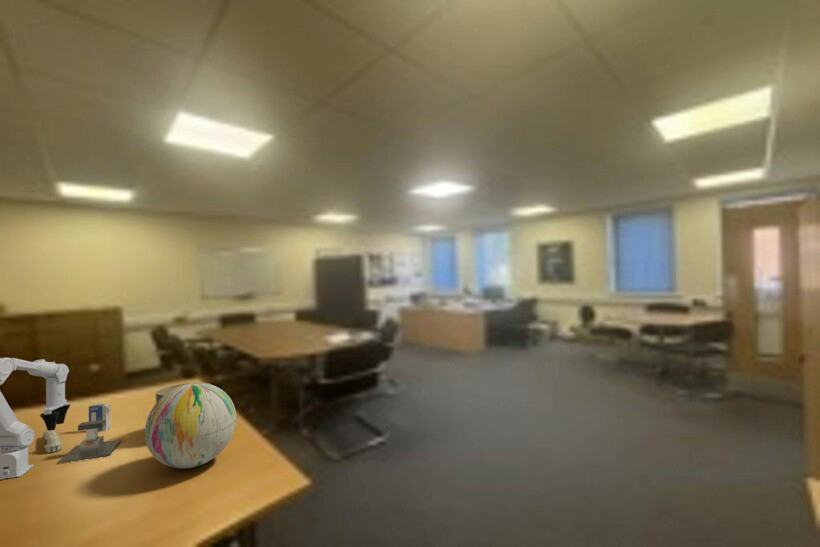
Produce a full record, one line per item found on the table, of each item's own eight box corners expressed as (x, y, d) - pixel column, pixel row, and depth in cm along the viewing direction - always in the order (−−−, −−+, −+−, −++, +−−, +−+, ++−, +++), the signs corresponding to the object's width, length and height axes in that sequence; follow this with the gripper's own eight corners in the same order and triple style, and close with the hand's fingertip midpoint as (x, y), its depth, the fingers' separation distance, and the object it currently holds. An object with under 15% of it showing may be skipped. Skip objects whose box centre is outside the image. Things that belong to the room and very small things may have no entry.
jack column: (102, 441, 161) (102, 422, 161) (77, 445, 158) (77, 425, 158) (105, 438, 164) (105, 419, 164) (81, 441, 161) (81, 422, 161)
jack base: (109, 456, 156) (109, 443, 157) (58, 464, 150) (58, 450, 151) (121, 441, 171) (121, 429, 171) (75, 447, 165) (75, 435, 165)
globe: (253, 457, 153) (252, 379, 154) (174, 493, 127) (173, 399, 128) (207, 442, 168) (206, 371, 169) (128, 472, 143) (127, 388, 143)
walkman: (88, 432, 184) (88, 406, 184) (92, 429, 186) (92, 404, 187) (107, 430, 185) (107, 404, 185) (110, 428, 187) (110, 403, 188)
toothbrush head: (56, 427, 180) (62, 432, 163) (56, 442, 180) (62, 449, 163) (40, 430, 177) (45, 436, 160) (40, 445, 176) (45, 453, 159)
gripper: (59, 396, 156) (59, 431, 156) (75, 387, 170) (75, 419, 169) (37, 399, 153) (37, 434, 153) (54, 389, 167) (54, 422, 167)
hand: (55, 426), depth 161 cm, fingers open, 7 cm apart
